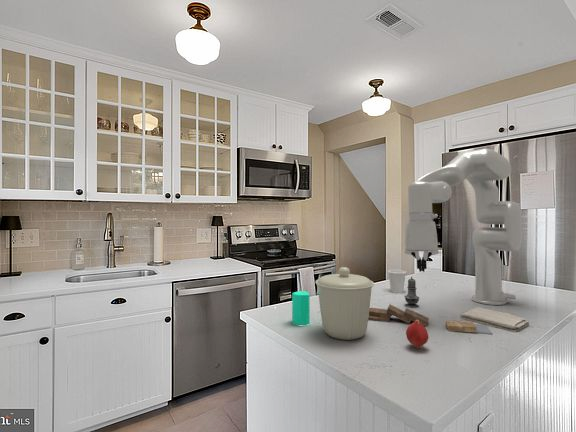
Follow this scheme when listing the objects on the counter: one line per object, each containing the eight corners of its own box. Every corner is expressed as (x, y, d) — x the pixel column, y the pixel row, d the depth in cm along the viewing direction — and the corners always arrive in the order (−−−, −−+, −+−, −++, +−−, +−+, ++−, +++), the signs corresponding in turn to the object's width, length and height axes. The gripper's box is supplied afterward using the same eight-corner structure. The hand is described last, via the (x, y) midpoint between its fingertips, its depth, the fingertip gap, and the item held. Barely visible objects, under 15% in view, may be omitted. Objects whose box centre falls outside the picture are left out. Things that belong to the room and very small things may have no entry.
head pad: (485, 325, 105) (485, 324, 105) (492, 334, 97) (492, 333, 97) (462, 323, 107) (462, 322, 107) (466, 331, 100) (466, 330, 100)
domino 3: (411, 315, 112) (389, 304, 115) (410, 319, 107) (388, 308, 110) (409, 318, 112) (388, 307, 115) (409, 323, 107) (386, 312, 110)
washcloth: (517, 334, 98) (517, 324, 98) (458, 319, 113) (458, 311, 113) (530, 326, 105) (530, 317, 105) (473, 313, 120) (473, 305, 120)
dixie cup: (393, 288, 158) (393, 268, 158) (409, 291, 152) (409, 271, 152) (384, 291, 152) (384, 271, 152) (400, 294, 146) (400, 273, 146)
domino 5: (472, 322, 103) (445, 320, 105) (476, 327, 98) (447, 325, 101) (473, 326, 103) (446, 325, 105) (476, 332, 98) (448, 330, 101)
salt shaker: (421, 308, 125) (420, 278, 125) (405, 307, 126) (405, 277, 126) (418, 304, 131) (417, 275, 131) (403, 303, 132) (403, 275, 132)
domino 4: (429, 318, 109) (406, 307, 112) (428, 322, 104) (404, 311, 108) (427, 322, 109) (404, 311, 112) (426, 326, 105) (402, 315, 108)
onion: (402, 344, 91) (402, 316, 91) (421, 343, 91) (421, 315, 91) (412, 352, 85) (411, 323, 85) (432, 351, 85) (432, 322, 85)
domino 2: (389, 314, 114) (366, 313, 117) (389, 319, 109) (365, 317, 112) (389, 319, 114) (366, 317, 117) (389, 323, 109) (365, 321, 112)
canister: (308, 340, 94) (307, 270, 94) (324, 321, 111) (323, 261, 111) (370, 349, 87) (369, 274, 87) (377, 327, 104) (376, 264, 104)
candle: (297, 327, 105) (297, 291, 105) (289, 321, 110) (289, 287, 110) (312, 324, 108) (312, 289, 108) (304, 319, 113) (303, 286, 113)
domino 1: (392, 310, 114) (371, 307, 118) (389, 314, 110) (366, 310, 114) (392, 314, 114) (371, 311, 118) (389, 318, 110) (366, 315, 114)
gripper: (443, 217, 109) (444, 269, 109) (397, 218, 114) (398, 268, 114) (446, 217, 102) (447, 274, 102) (397, 218, 107) (398, 272, 107)
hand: (421, 270), depth 108 cm, fingers closed
